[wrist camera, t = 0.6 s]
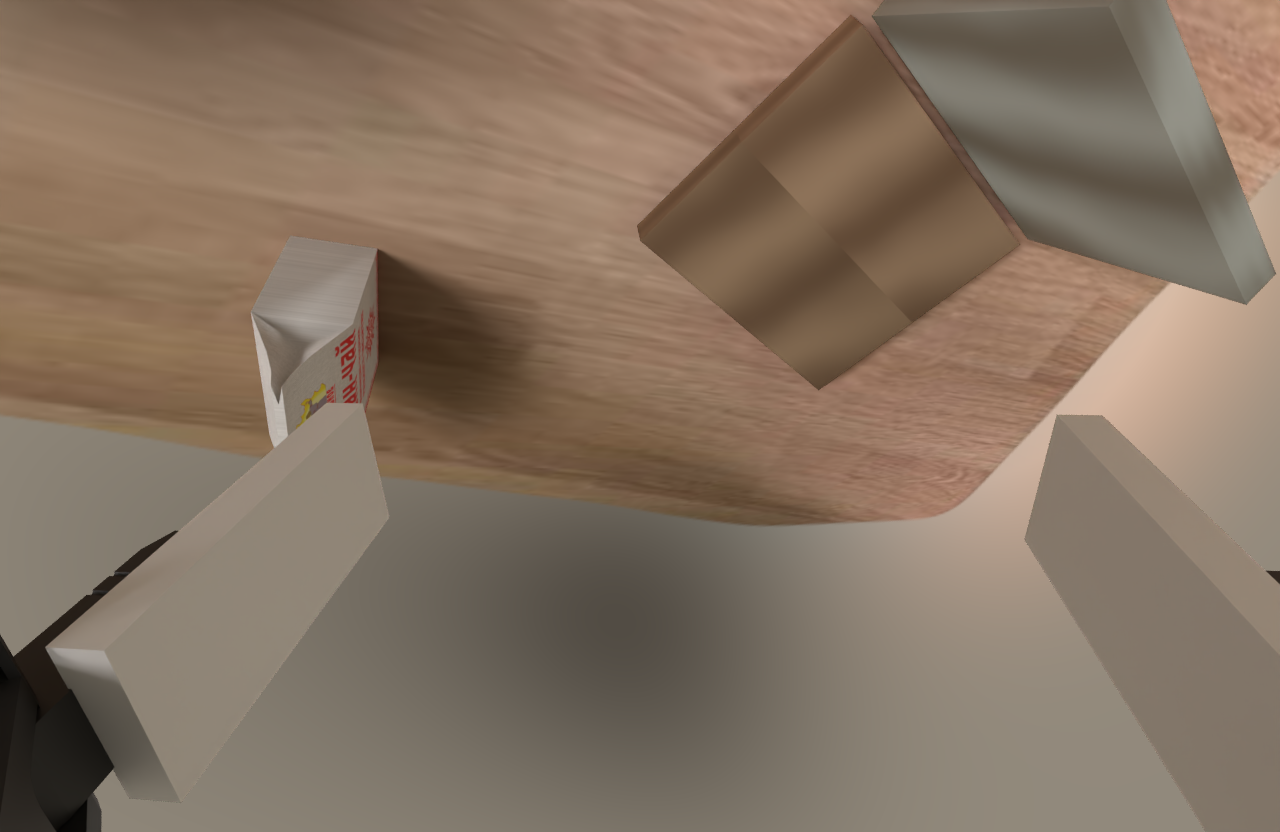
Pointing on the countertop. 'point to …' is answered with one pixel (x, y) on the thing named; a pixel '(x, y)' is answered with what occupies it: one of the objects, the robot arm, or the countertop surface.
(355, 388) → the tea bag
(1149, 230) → the grey flat slab
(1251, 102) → the countertop surface
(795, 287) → the floorboard
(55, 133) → the countertop surface
